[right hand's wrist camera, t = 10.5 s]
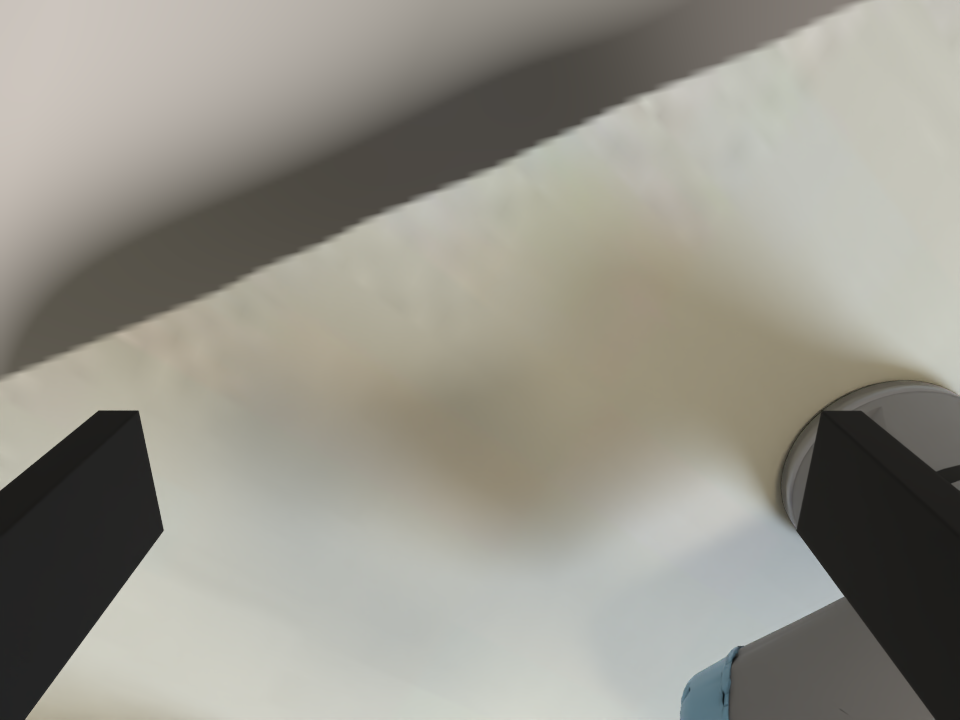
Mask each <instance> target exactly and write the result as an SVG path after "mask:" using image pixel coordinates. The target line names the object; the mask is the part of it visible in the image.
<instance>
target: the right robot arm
mask: <svg viewBox="0 0 960 720" xmlns="http://www.w3.org/2000/svg"><path fill="white" fill-rule="evenodd" d="M781 494H782V500H783V504H784V507H785V510H786V512H787V515H788V517H789V518H790V520H791V522H792V523H793V525H794V526H795V527H796V531H797V532H798V534H799V535H800V536H801V538H802V539H803V540H804V542H805V543H806V544H807V546H808V547H809V549H810V550H811V551H812V553H813V554H814V555H815V557H816V558H817V559H818V561H819V562H820V563H821V565H822V566H823V568H824V569H825V570H826V572H827V573H828V574H829V576H830V577H831V578H832V580H833V581H834V583H835V584H836V585H837V587H838V588H839V589H840V591H841V592H842V593H843V595H844V596H845V597H843V598H841V599H839V600H837V601H835V602H833V603H831V604H829V605H827V606H825V607H823V608H821V609H819V610H817V611H815V612H813V613H811V614H809V615H807V616H805V617H803V618H802V619H800V620H797V621H795V622H793V623H791V624H789V625H787V626H785V627H783V628H781V629H779V630H777V631H775V632H773V633H771V634H769V635H767V636H764V637H762V638H760V639H758V640H756V641H754V642H752V643H750V644H748V645H746V646H738V647H735V648H734V649H733V650H731V652H730V653H729V654H728V655H727V657H725V658H723V659H722V660H720V661H718V662H717V663H715V664H713V665H711V666H710V667H708V668H706V669H704V670H703V671H701V672H699V673H697V674H696V675H695V676H693V677H692V678H691V679H690V680H689V682H688V683H687V685H686V687H685V689H684V692H683V696H682V699H681V711H680V720H960V396H959V395H957V394H955V393H953V392H952V391H950V390H948V389H946V388H943V387H941V386H938V385H935V384H931V383H926V382H921V381H891V382H885V383H879V384H876V385H872V386H868V387H865V388H862V389H860V390H857V391H855V392H853V393H850V394H848V395H846V396H844V397H843V398H841V399H839V400H837V401H836V402H834V403H833V404H831V405H830V406H828V407H827V408H826V409H824V410H823V411H821V412H820V413H819V414H818V415H817V416H816V417H815V418H814V419H813V420H812V421H811V422H810V423H809V424H808V425H807V426H806V427H805V428H804V430H803V431H802V432H801V433H800V435H799V436H798V438H797V439H796V441H795V442H794V444H793V446H792V448H791V450H790V451H789V454H788V456H787V459H786V462H785V465H784V468H783V473H782V481H781ZM163 531H164V529H163V525H162V520H161V515H160V510H159V506H158V501H157V496H156V491H155V487H154V482H153V477H152V472H151V467H150V463H149V458H148V453H147V448H146V444H145V439H144V434H143V429H142V425H141V420H140V415H139V411H98V412H96V413H95V414H94V415H93V416H92V417H90V418H89V419H88V420H87V421H85V422H84V423H83V424H82V425H80V426H79V427H78V428H77V429H76V430H74V431H73V432H72V433H71V434H69V435H68V436H67V437H66V438H64V439H63V440H62V441H61V442H60V443H58V444H57V445H56V446H55V447H53V448H52V449H51V450H50V451H49V452H47V453H46V454H45V455H44V456H42V457H41V458H40V459H39V460H37V461H36V462H35V463H34V464H33V465H31V466H30V467H29V468H28V469H26V470H25V471H24V472H23V473H22V474H20V475H19V476H18V477H17V478H15V479H14V480H13V481H12V482H10V483H9V484H8V485H7V486H6V487H4V488H3V489H2V490H1V491H0V720H25V719H26V717H27V716H28V715H29V713H30V712H31V710H32V709H33V708H34V706H35V705H36V704H37V702H38V701H39V700H40V698H41V697H42V696H43V694H44V693H45V691H46V690H47V689H48V687H49V686H50V685H51V683H52V682H53V681H54V679H55V678H56V676H57V675H58V674H59V672H60V671H61V670H62V668H63V667H64V666H65V664H66V663H67V661H68V660H69V659H70V657H71V656H72V655H73V653H74V652H75V651H76V649H77V648H78V647H79V645H80V644H81V642H82V641H83V640H84V638H85V637H86V636H87V634H88V633H89V632H90V630H91V629H92V627H93V626H94V625H95V623H96V622H97V621H98V619H99V618H100V617H101V615H102V614H103V612H104V611H105V610H106V608H107V607H108V606H109V604H110V603H111V602H112V600H113V599H114V598H115V596H116V595H117V593H118V592H119V591H120V589H121V588H122V587H123V585H124V584H125V583H126V581H127V580H128V578H129V577H130V576H131V574H132V573H133V572H134V570H135V569H136V568H137V566H138V565H139V563H140V562H141V561H142V559H143V558H144V557H145V555H146V554H147V553H148V551H149V550H150V549H151V547H152V546H153V544H154V543H155V542H156V540H157V539H158V538H159V536H160V535H161V534H162V532H163Z"/></svg>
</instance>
